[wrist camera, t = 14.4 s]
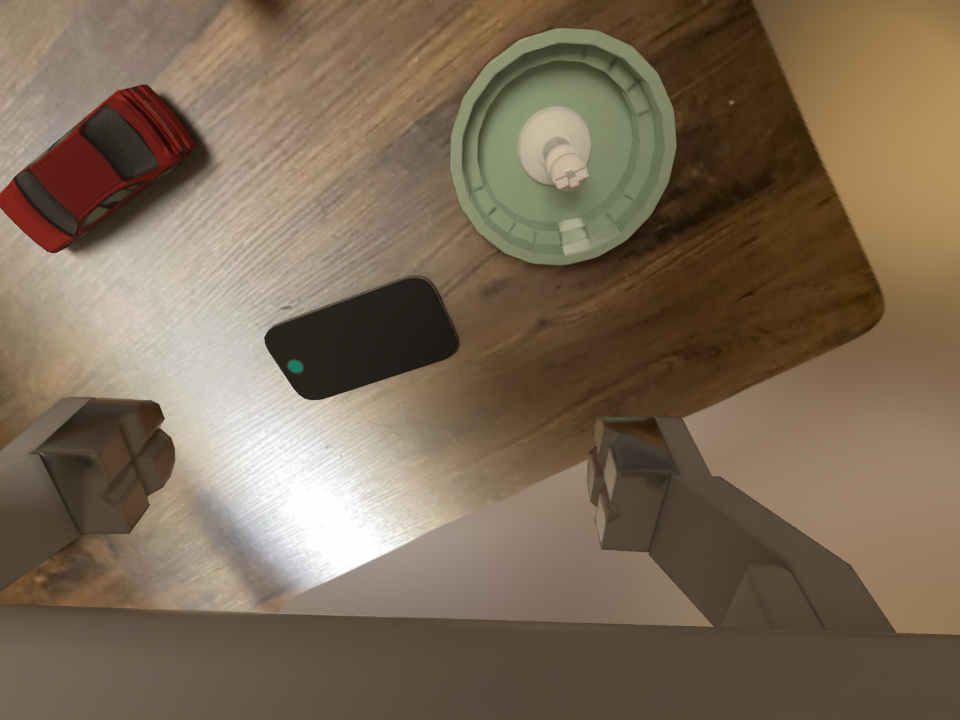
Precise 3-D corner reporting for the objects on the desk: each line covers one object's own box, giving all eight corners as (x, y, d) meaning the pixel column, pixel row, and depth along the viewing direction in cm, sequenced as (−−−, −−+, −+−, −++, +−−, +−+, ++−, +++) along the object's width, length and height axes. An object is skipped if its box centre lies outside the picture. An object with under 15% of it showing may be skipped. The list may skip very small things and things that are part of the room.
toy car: (219, 156, 37) (184, 172, 33) (66, 248, 41) (16, 273, 37) (163, 76, 35) (117, 82, 31) (4, 181, 39) (-56, 200, 34)
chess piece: (505, 126, 36) (510, 156, 27) (576, 92, 35) (605, 112, 26) (533, 195, 38) (545, 243, 29) (600, 165, 37) (634, 205, 28)
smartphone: (255, 334, 44) (425, 272, 41) (259, 329, 44) (426, 268, 41) (304, 406, 47) (463, 354, 44) (307, 400, 48) (463, 349, 45)
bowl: (547, -25, 32) (556, -34, 28) (696, 128, 36) (723, 141, 32) (416, 160, 37) (406, 176, 33) (558, 274, 42) (566, 302, 37)
